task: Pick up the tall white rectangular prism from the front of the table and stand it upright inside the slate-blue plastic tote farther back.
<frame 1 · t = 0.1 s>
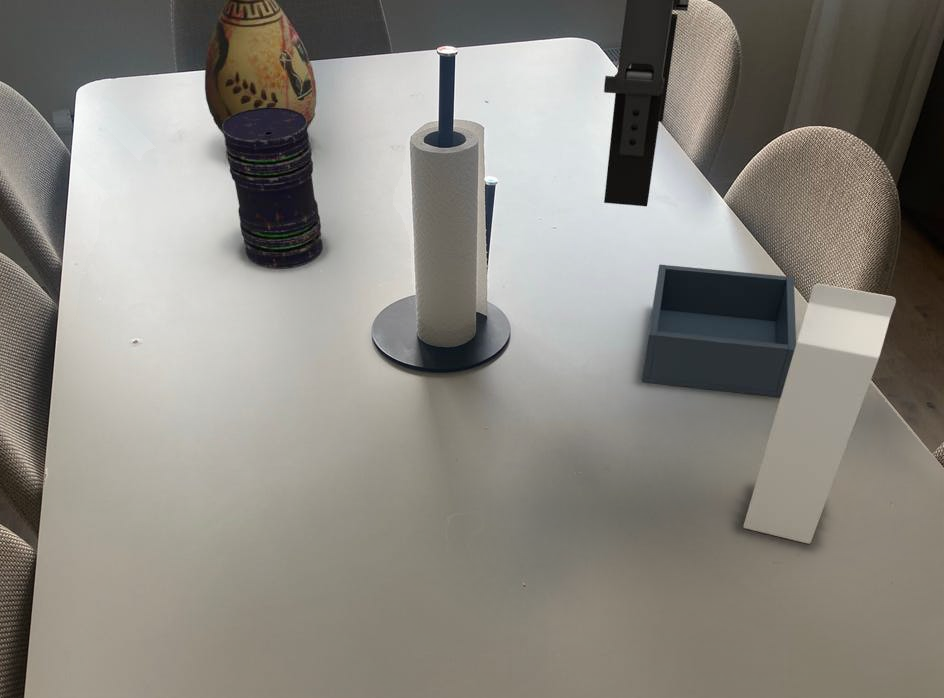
hand: (635, 158, 64), 31 cm above the table, tool pointing down, fingers open, 13 cm apart
tall white rectangular prism: (780, 517, 86), on the table
tote: (713, 351, 103), on the table
dark blue cylinder: (284, 251, 119), on the table
ceramic jug: (271, 149, 140), on the table
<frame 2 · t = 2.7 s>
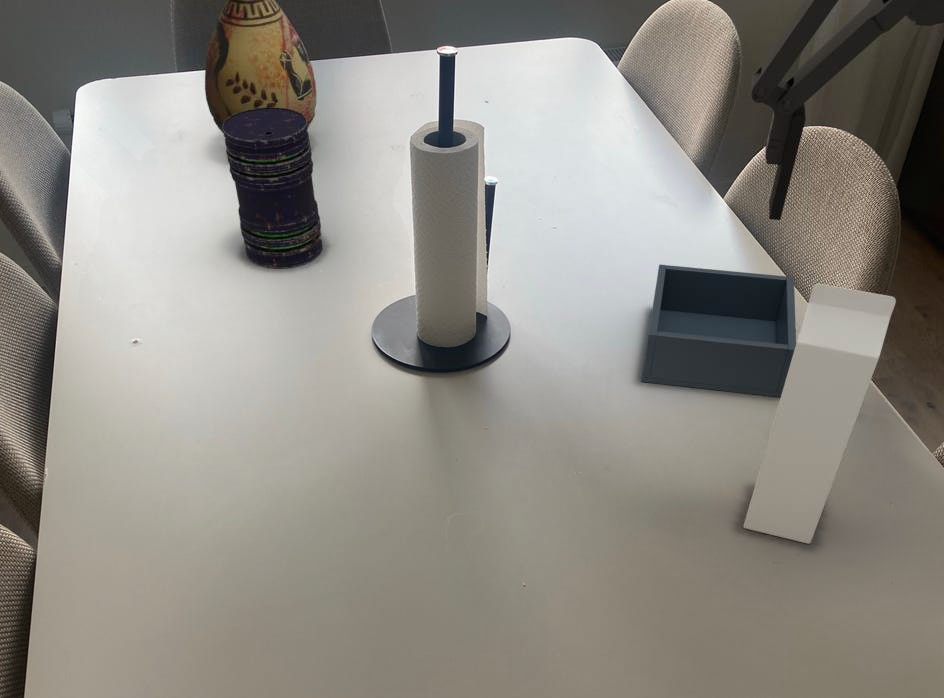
hand: (874, 220, 65), 27 cm above the table, tool pointing down, fingers open, 13 cm apart
nothing on the table moved.
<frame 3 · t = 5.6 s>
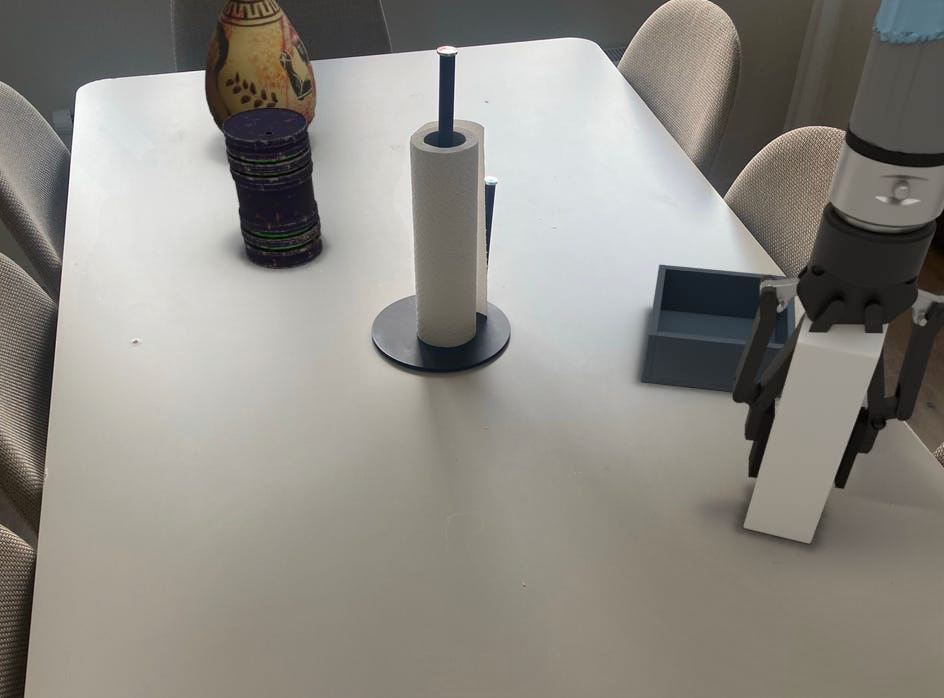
hand: (795, 472, 82), 5 cm above the table, tool pointing down, fingers closed on tall white rectangular prism, 7 cm apart
tall white rectangular prism: (780, 517, 86), on the table, touching gripper
everything else where it was.
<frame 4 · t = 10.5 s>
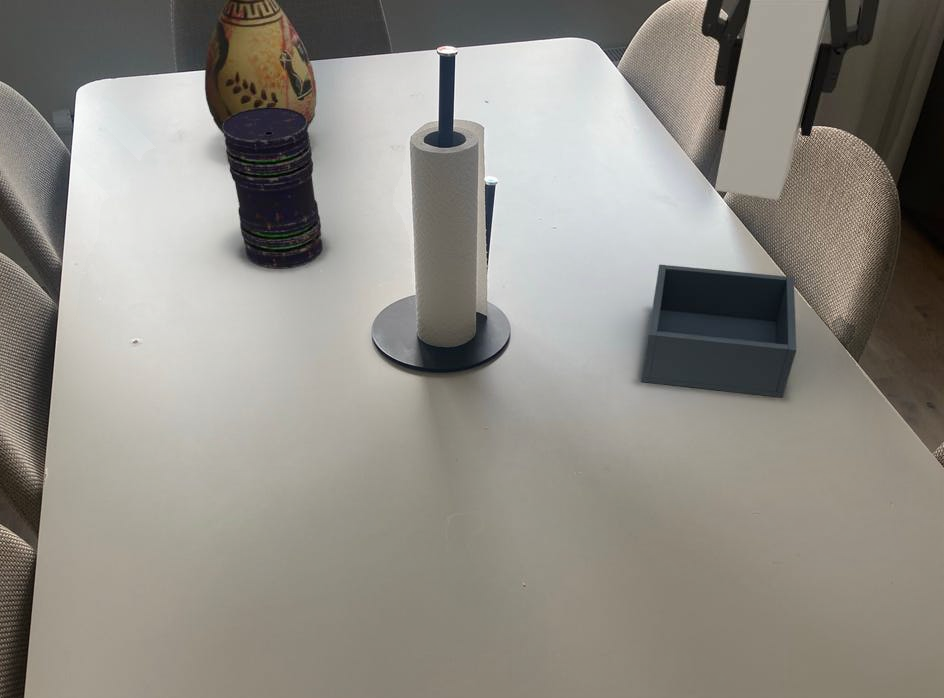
hand: (764, 126, 85), 23 cm above the table, tool pointing down, fingers closed on tall white rectangular prism, 7 cm apart
tall white rectangular prism: (751, 184, 89), point 18 cm above the table, touching gripper
everything else where it was.
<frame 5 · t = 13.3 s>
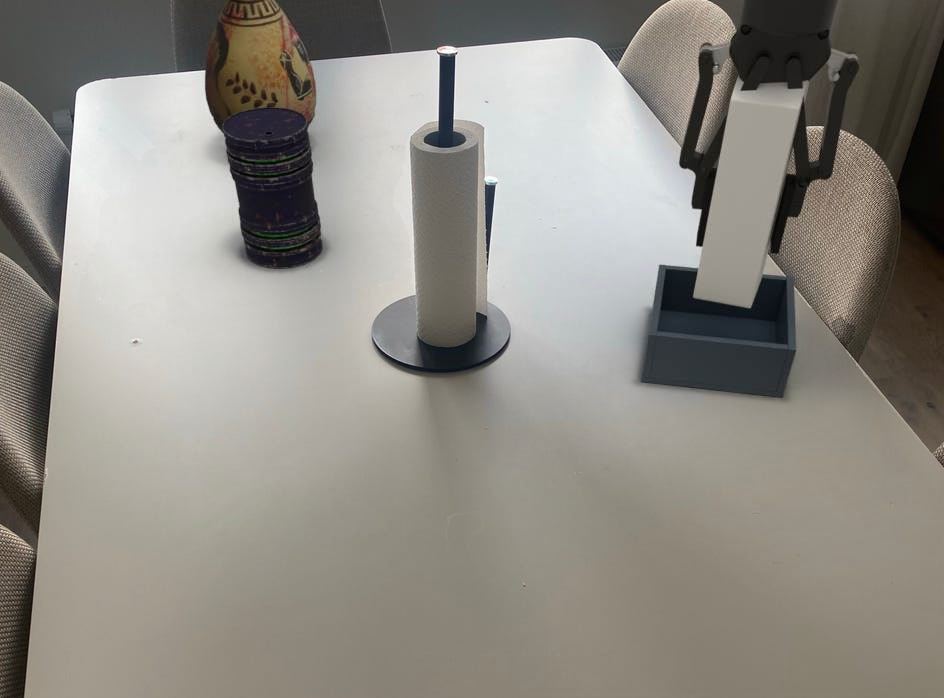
hand: (737, 243, 94), 12 cm above the table, tool pointing down, fingers closed on tall white rectangular prism, 7 cm apart
tall white rectangular prism: (726, 291, 98), point 7 cm above the table, touching gripper
everything else where it was.
when the fingers open (6 cm above the table, at t = 15.5 s): tall white rectangular prism stays where it is, resting on tote.
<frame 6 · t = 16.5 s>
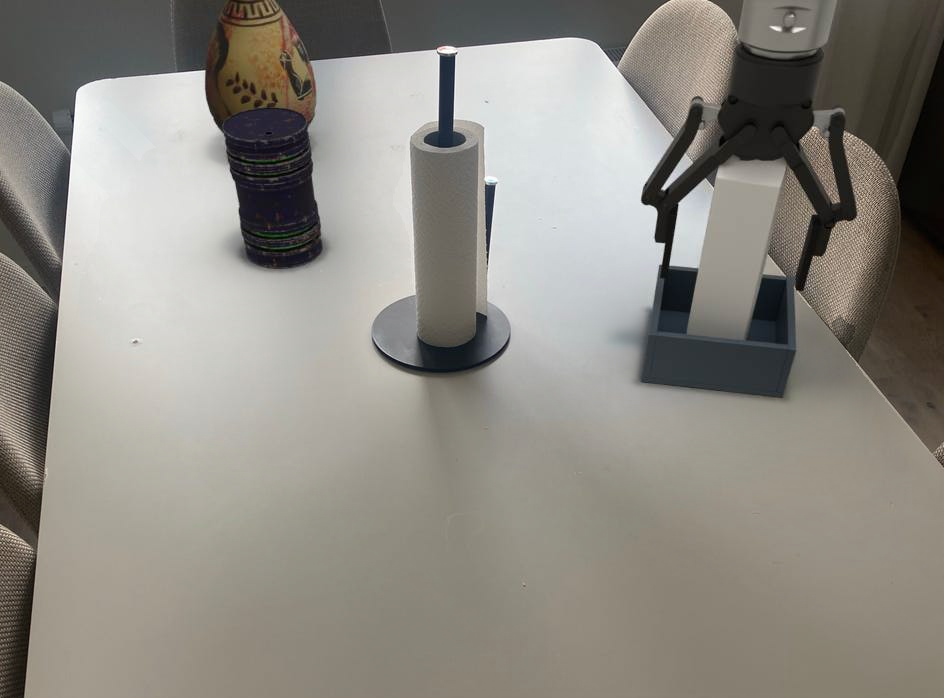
hand: (731, 278, 97), 9 cm above the table, tool pointing down, fingers open, 13 cm apart
tall white rectangular prism: (714, 348, 103), resting on tote
everything else where it was.
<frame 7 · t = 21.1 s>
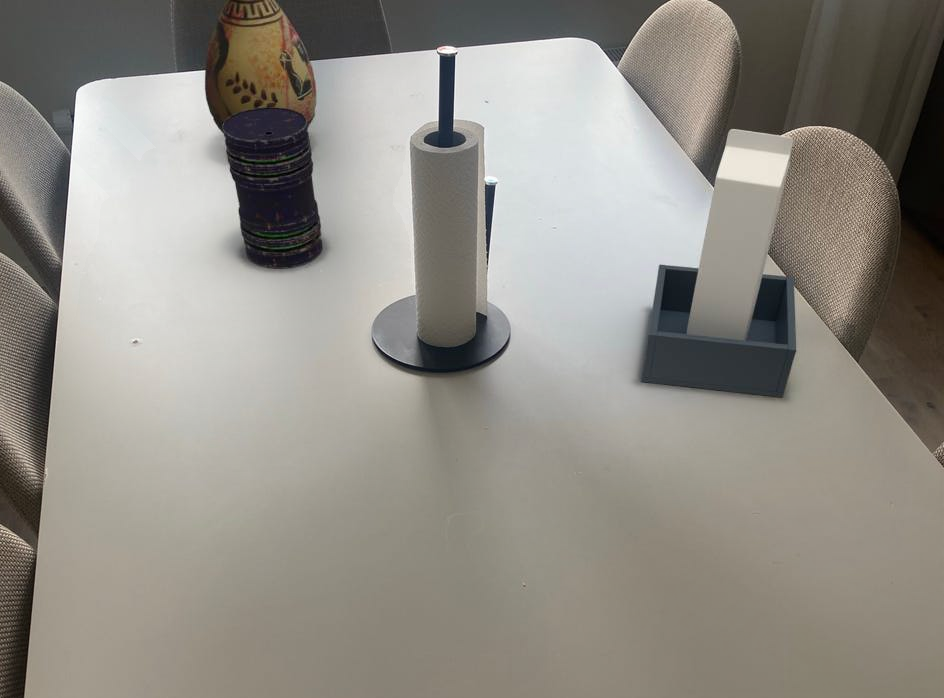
nothing on the table moved.
at the end: tall white rectangular prism inside the target area in the tote (0.0 cm from its centre), point 0.4 cm above the tote's base; tall white rectangular prism tilted 0°; the gripper is holding nothing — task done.
